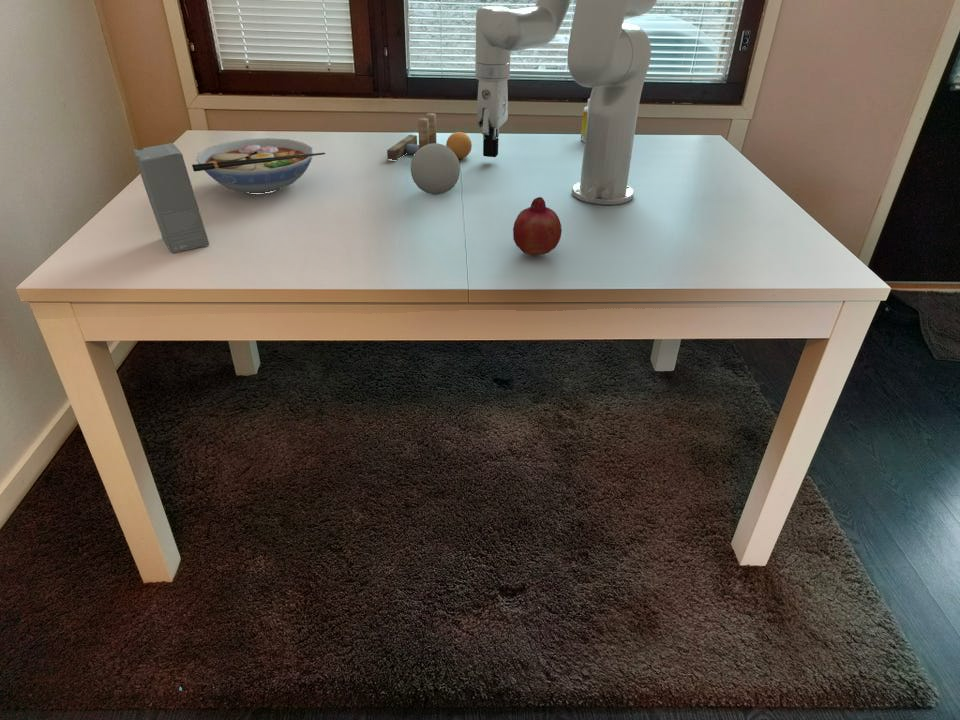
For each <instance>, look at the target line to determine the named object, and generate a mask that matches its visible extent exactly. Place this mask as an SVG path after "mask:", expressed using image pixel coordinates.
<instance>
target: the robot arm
mask: <svg viewBox="0 0 960 720" xmlns="http://www.w3.org/2000/svg"><path fill="white" fill-rule="evenodd" d="M657 1H658V0H576V1H575V6H574V13H573V17H572V18H573V19H572V24H571V30H570V34H569V41H568V47H567V59H566V60H567V67H568V71H569V74H570V76H571V78H572V79H573V81H574V82H575V83H576V84H578V85H579V86H581V87H583V88H592V89H591V93H590V97H589V99H590V100H589V106H588V114H587V124H586V133H585V142H583V143H584V144H583V152H582V153H583V155H582V165H581V172H580V181H579V182H577V183H574V184H573V185H572V186H571V194H572V196H574V198H576V199H578V200H579V201H582V202H585V203H589V204H595V205H608V206H611V205H613V206H614V205H621V204H624V203H628V202H630V201H632V200H633V198H634V193H635V191H634V189H633V188H632V187H631V186H629V185H628V181H629V174H630V168H631V160H632V153H633V148H634V147H633V146H634V140H635V132H636V126H637V120H638V113H639V108H640V102H641V95H642V92H643V88H644V87H643V86H644V84H645V81H646V77H647V73H648V70H649V67H650V62H651V58H652V48H651V47H652V46H651V41H650V39H649V36H648V34H647V33H646V31H644V29H642V28H641V27H640V26H638V25H635V24H632V23H624V21H625V19H628V18H629V19H630V18H633V17H634V18H635V17H639V16H643V15H644V14H647V13H648V12H649V11H651V10H652V8H654V6H655V5H656V3H657ZM570 4H571V0H537V1H536V4H535V5H534V6H532V7H530V6H529V7H522V8H514V9H510V8H509V7H506V6H502V5H484V6H481V7H479V8H478V9H477V10H476V14H475V62H474V63H475V65H474V66H475V67H474V70H475V76H474V77H475V79H476V80H478V85H477V86H478V87H477V88H478V89H477V102H476V103H477V105H476V109H477V110H476V122H477V123H476V124H477V126H478V127H479V128H482V129H481V130H482V131H481V135H482V136H483V137H482V138H483V140H482V143H483V144H482V147H483V148H482V156H483V157H487V158H497V156H498V155H499V136H500V135H499V133H500V127H502V126H503V125H504V123H506V122H507V120H508V118H509V117H508V116H509V107H508V106H509V101H508V100H509V96H508V95H509V92H508V91H509V90H508V89H509V87H508V86H509V85H508V81H509V80H510V79H511V78H510V72H511V71H510V70H511V52H518V51H525V50H528V49H534V48H535V49H536V48H540V47H544V46H547V45H548V44H549V43H551V42H552V41H553V39H554V38H555V37H556V35H557V34H558V32H559V30H560V28H561V26H562V24H563V22H564V20H565V17H566V15H567V13H568V10H569V8H570Z"/></svg>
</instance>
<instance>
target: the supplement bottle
mask: <svg viewBox="0 0 960 720" xmlns="http://www.w3.org/2000/svg"><path fill="white" fill-rule="evenodd" d="M589 100H590V98H588V99H587V103H586V105H587V106H585V107H584V108H583V112H582V123H581V133H580V140H581V141H582V142H583V143H585V133H586V124H587V114H588V106H589Z"/></svg>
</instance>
